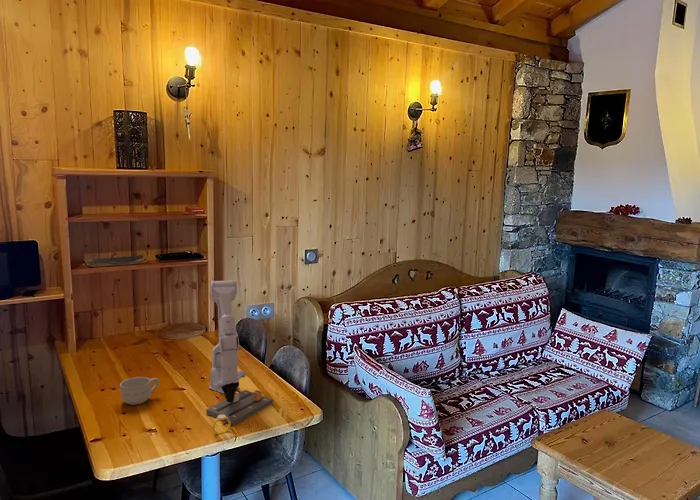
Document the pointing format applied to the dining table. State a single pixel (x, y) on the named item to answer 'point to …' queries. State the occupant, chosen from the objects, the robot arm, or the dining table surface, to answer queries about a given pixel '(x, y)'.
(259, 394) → the fader orange
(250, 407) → the fader panel
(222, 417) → the watch
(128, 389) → the teacup
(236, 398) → the fader ivory
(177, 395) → the dining table surface
